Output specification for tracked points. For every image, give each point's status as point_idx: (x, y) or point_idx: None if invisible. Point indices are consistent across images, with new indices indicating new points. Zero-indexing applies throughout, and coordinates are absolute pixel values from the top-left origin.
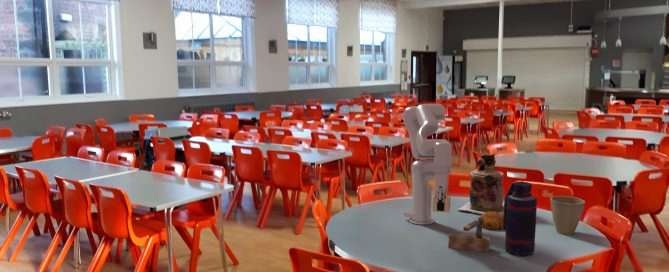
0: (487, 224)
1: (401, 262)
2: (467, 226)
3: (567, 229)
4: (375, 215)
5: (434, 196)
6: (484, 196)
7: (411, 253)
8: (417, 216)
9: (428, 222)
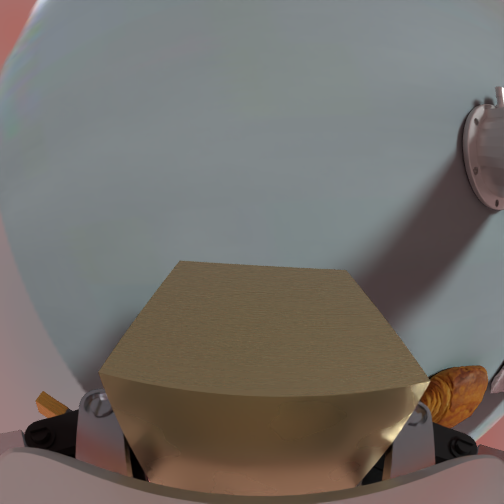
0: (421, 400)
1: (5, 146)
2: (49, 415)
3: None
4: (482, 9)
5: (290, 405)
6: None
7: (62, 148)
8: (493, 134)
9: (475, 184)
